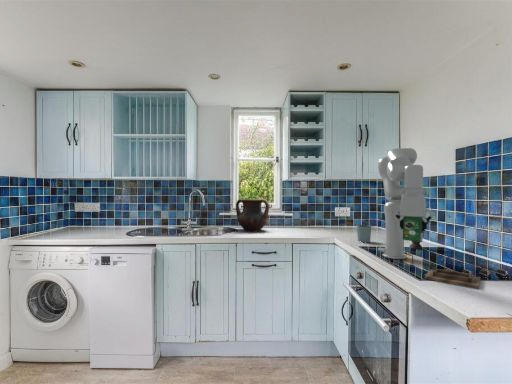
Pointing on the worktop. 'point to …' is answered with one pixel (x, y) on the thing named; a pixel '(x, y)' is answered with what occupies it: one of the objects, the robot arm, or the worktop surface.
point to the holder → (453, 278)
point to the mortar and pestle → (417, 243)
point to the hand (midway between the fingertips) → (412, 229)
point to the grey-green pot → (364, 233)
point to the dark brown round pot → (252, 214)
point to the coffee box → (413, 229)
